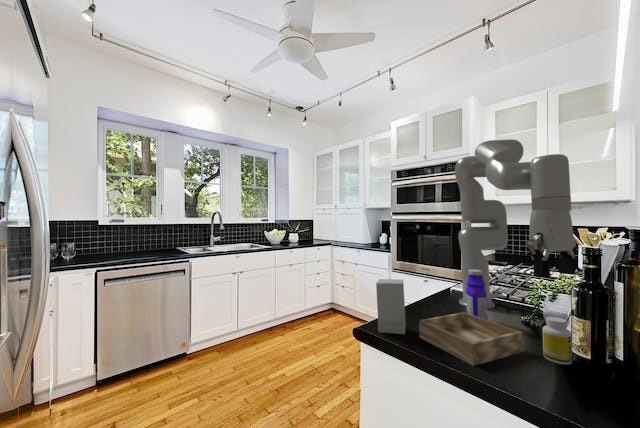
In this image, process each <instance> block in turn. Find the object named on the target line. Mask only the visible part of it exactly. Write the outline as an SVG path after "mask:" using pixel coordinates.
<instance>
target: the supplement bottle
mask: <svg viewBox="0 0 640 428" xmlns="http://www.w3.org/2000/svg"><path fill="white" fill-rule="evenodd" d="M545 323H546V325H544V326H543V327H542V351H543V352H542V353H543V357H544V359H546V360H548V361H549V362H551V363H553V364H554V363H555V364H557V365H565V366H566V365H567V366H568V365H572V363H573V344H572V343H573V342H572V341H573V340H572V332H571V331H570V329H567V328H568V321H567V319H565V318H562V317H558V316H546V317H545Z"/></svg>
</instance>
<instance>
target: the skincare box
mask: <svg viewBox="0 0 640 428" xmlns="http://www.w3.org/2000/svg"><path fill="white" fill-rule="evenodd" d="M375 286H376V290H375V291H376V304H377V306H376V309H377V324H378V325H377V327H378V328H377V329H378V333H383V334H395V335H397V334H398V335H405V334H406V329H407V328H406V327H407V326H406V322H407V321H406V307H405V302H406V301H405V290H404V289H405V287H404V279H396V278H395V279H392V278H385V279H384V278H378V280H377V282H376V283H375Z"/></svg>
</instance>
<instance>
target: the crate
mask: <svg viewBox="0 0 640 428" xmlns="http://www.w3.org/2000/svg"><path fill="white" fill-rule="evenodd" d="M418 324H419V325H418V326H419V328H418V329H419V330H418V332H419V338H420V339H421V340H424V341H426V342H428V343H429V344H431V345H433V346H434V347H437V348H439V349H440V350H443V351H444V352H446V353H448V354H450V355H452V356H453V357H455V358H456V359H457V358H458V359H460V360H461V361H463V362H465V363H467V364H469V365H471V366H472V367H473V366H478V365H482V364H485V363H486V364H487V363H489V362H492V361H493V362H494V361H496V360H499V359H503V358H507V357H510V356H513V355H517V354H522V353H524V352H525V350H524V349H525V347H524V332H523V331H521V330H518V329H516V328H511V327H509V326H507V325H502V324H500V323H498V322H494V321H492V320H486V319H483V318H480V317H477V316H474V315H471V314H468V313H467V312H465V311H463V312H457V313H453V314H446V315H441V316H435V317H431V318H426V319H419V321H418Z"/></svg>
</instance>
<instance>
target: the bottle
mask: <svg viewBox="0 0 640 428" xmlns="http://www.w3.org/2000/svg"><path fill="white" fill-rule="evenodd" d="M466 284H467V288H466V301H467V307H466V313H468V314H471V315H474V316H477V317H480V318H483V319H486V320H488V309H487V298H486V296H487V294H486V290H485V287H484V286H485V283H484V281H483V277H482V271H481V270H469V277H468V280H467V282H466Z"/></svg>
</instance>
